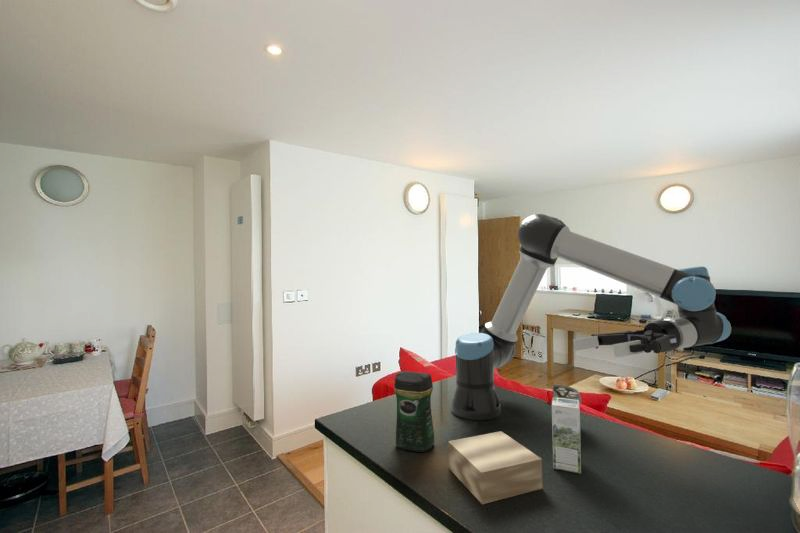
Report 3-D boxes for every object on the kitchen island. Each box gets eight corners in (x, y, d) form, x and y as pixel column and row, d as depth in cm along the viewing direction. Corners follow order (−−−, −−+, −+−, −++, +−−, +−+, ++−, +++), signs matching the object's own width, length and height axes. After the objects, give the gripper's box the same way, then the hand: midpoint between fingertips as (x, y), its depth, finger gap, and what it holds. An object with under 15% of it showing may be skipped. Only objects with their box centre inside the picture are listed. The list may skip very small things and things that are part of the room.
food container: (587, 437, 98) (587, 399, 98) (562, 435, 99) (561, 398, 99) (575, 418, 110) (574, 384, 110) (553, 417, 111) (552, 383, 111)
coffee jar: (438, 442, 97) (436, 370, 97) (426, 456, 90) (425, 378, 90) (404, 435, 101) (402, 366, 101) (391, 448, 94) (389, 374, 94)
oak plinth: (448, 468, 84) (448, 441, 84) (501, 456, 89) (501, 431, 89) (482, 504, 71) (481, 472, 71) (542, 488, 76) (541, 458, 76)
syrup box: (581, 462, 86) (579, 398, 86) (581, 475, 80) (579, 407, 80) (554, 457, 88) (552, 395, 88) (552, 469, 83) (551, 404, 83)
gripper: (723, 356, 80) (639, 372, 76) (631, 345, 104) (563, 357, 100) (716, 321, 81) (632, 335, 76) (626, 318, 105) (558, 328, 101)
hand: (593, 347), depth 88 cm, fingers open, 13 cm apart
